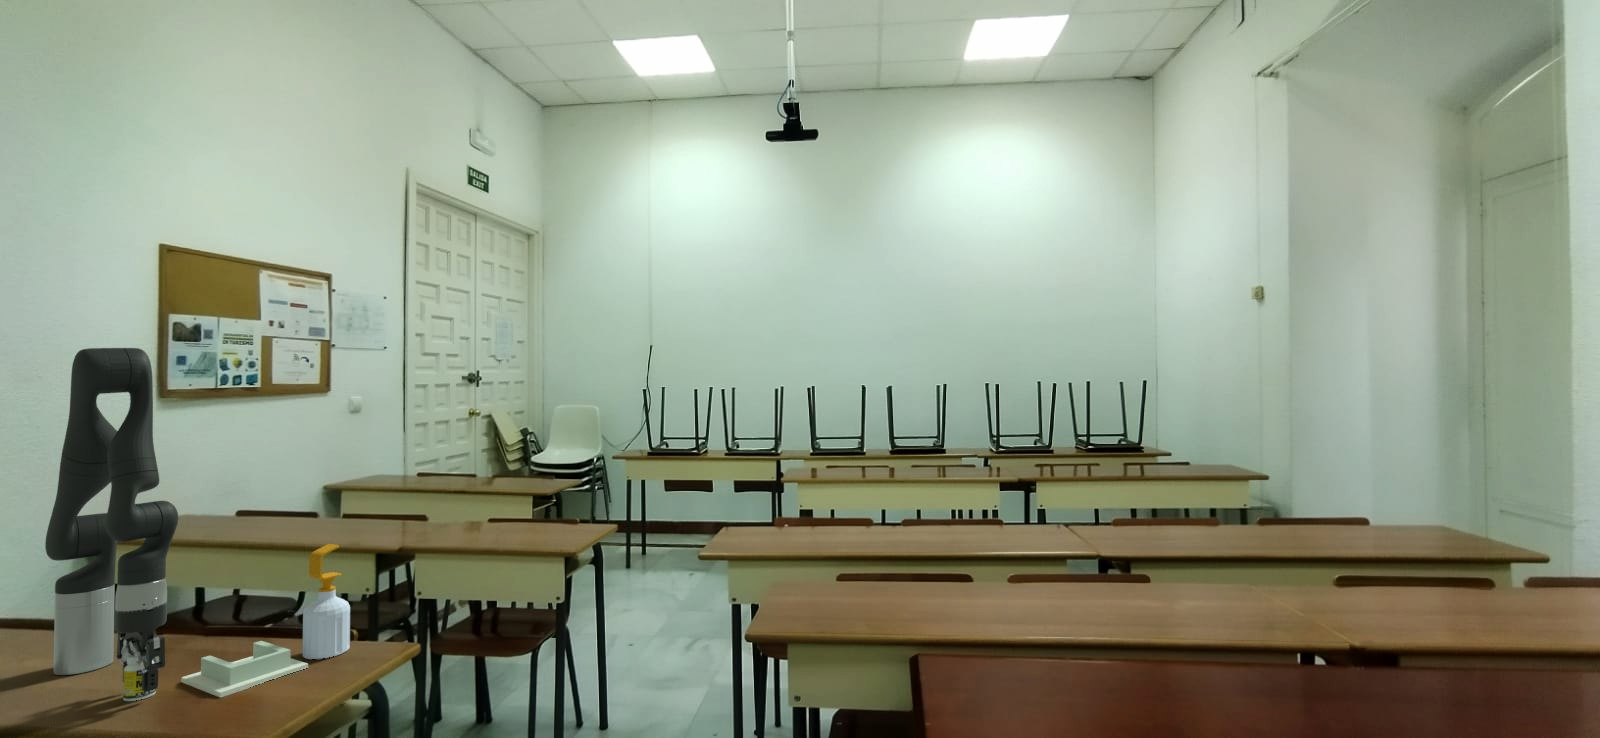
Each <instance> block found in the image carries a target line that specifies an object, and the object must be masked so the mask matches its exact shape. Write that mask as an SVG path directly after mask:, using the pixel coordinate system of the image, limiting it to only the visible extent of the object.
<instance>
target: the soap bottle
mask: <svg viewBox="0 0 1600 738" xmlns="http://www.w3.org/2000/svg"><path fill="white" fill-rule="evenodd" d="M339 548H340V546H339V544H334V543H328V544H325V545H323V546H321V547H320V548H317V549H316V550H314V551H312V552H311V553H310V555H309V558H308V559H309V562H308V563H309V564H308V569H309V571H308V574H309V577H310V578H312V579H317V580H319V582H320V583H322V587H319V588H318V598H317V599H316V600H314V601H313V602H311V603H310V604H309V605H307V606H306V607H305V608H304V610H303V614H302V657H303V658H304V659H307V660H312V659H316V660H324V659H323V658H325V659H330V658H333V656H334V657H337V656H339V655H342V654H344V653H346V652H347V651H348V650H350V648H351V647H350V645H351V605H350V604H349V601H347V600H345V599H344V598H341V597H338V596H337V594H336V591H337V589H336V588H337V587H336V586H335V585H333V584H332V582H334V581H335V578H337V577H341V576H342V573H340V572H336V571H335V572H334V571H332V572H331V571H330V572H326V573H322V571H323V567H322V566H323V558H324V557H325V556H326V555H327V554H330V553H331V552H333V551H335V550H336V549H339ZM329 657H330V658H329Z"/></svg>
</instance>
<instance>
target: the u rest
mask: <svg viewBox="0 0 1600 738" xmlns="http://www.w3.org/2000/svg"><path fill="white" fill-rule="evenodd" d="M252 645H253V650H252V651H253V652H252V654H253V655H252V656H248V657H245V658H241V659H238V660H235V661H231V662H230V661H227V660H225V659H222V658H218V657H215V656H213V655H207V656H204V657H201V658H200V671H198V672H194V673H191V674H188V675H184V676H182V677H181V681H180V682H181V683H182V682H183V683H182V684H185V685H186V686H187V685H188V686H190V687H192V688H194V689H198V690H200V691H202V692H204V693H208V694H210V695H213V696H215V697H218V698H223V697H227V696H229V695H233V694H235V693H239V692H241V691H244V690H247V689H251V688H254V687H256V686H255V685H257V686H259V685H258V684H260V685H263V684H265V683H264V682H266V681H269V680H272V679H275V680H277V679H276V678H278V677H281V676H284V675H287V674H290V673H293V672H296V671H299V670H302V671H304V670H303V669H305V670H307V669H306V668H308V669H309V663H307V662H303V661H301V660H297V659H294V658H291V655H292V653H291V652H292V650H291V649H289V648H287V647H282V646H280V645H276V644H273V643H270V642H266V641H263V640H260V641H256V642H253V644H252ZM299 672H300V671H299ZM296 673H297V672H296ZM293 674H294V673H293ZM290 675H291V674H290ZM287 676H288V675H287ZM284 677H285V676H284ZM281 678H282V677H281ZM278 679H279V678H278ZM272 681H273V680H272ZM269 682H270V681H269ZM262 683H263V684H262ZM266 683H267V682H266ZM253 686H254V687H253ZM250 687H251V688H250Z"/></svg>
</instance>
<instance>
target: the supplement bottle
mask: <svg viewBox="0 0 1600 738" xmlns="http://www.w3.org/2000/svg"><path fill="white" fill-rule="evenodd" d="M153 663H154V662H153V660H152V664H153ZM127 664H128V665H127V666H126V667H125V668H124V682H123V691H122V692H123V693H122V695H123V696H122V698H123V699H122V700H123V701H125V702H136V700H137V701H142V700H145V699H148V698H151V697H152V696H154V695H155V694H156V692H157V688H156V689H154V690H150V691H147V692H144V691H142V673H143V672H142V668H141V665H140V664H139V663H136V660H135V656H133V655H129V656H127ZM141 699H142V700H141Z"/></svg>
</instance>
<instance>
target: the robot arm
mask: <svg viewBox="0 0 1600 738" xmlns="http://www.w3.org/2000/svg"><path fill="white" fill-rule="evenodd" d="M70 374H71V375H70V377H71V378H70V397H69V398H70V399H69V411H68V412H69V413H68V420H67V426H66V432H65V435H64V436H65V437H64V441H63V445H62V450H61V456H60V463H59V473H58V481H57V491H56V495H55V500H54V504H53V508H52V511H51V516H50V518H49V523H48V526H47V531H46V534H45V541H44V542H45V543H44V546H45V551H46V554H47V556H48V558H49V559H50V560H53V561H59V562H60V561H61V562H62V561H70V560H77V559H84V558H92V559H91V561H90V562H88V563H87V564H86V565H84V566H83V567H80V568H79V569H76V570H74V571H72V572H69V573H67V574H65V575H63V576H61V577H59V578H58V579H57V580H56V581H55V584H54V622H53V624H54V625H53V626H54V627H53V628H54V632H53V633H54V634H53V635H54V636H53V667H52V668H53V671H52V672H53V675H56V676H67V675H68V676H69V675H76V674H77V675H78V674H83V673H87V672H91V671H95V670H98V669H100V668H102V669H103V668H104V667H106V666H109V665H110V664H112V663H113V662H114V653H115V652H114V648H115V647H114V645H115V632H116V633H117V642H116V643H117V648H116V658H117V660H120V661H119V662H120V664H121V665H122V682H123V683H124V668H125V667H126V666H127V665H128V664H127V656H129V655H133V656H135V660H136V663H139V664H140V665H141V668H142V672H143V673H142V691H144V692H147V691H150V690H154V689H156V690H157V688H158V687H159V669H162V668H164V667H165V666H166V649H165V648H166V640H165V639H166V637H165V636H159V637H158V635H157V632H156V630H157V628H159V627H161V626H163V625H165V624H166V622H167V620H168V619H167V618H168V617H167V615H168V613H167V612H168V611H167V610H168V609H167V608H168V607H167V606H168V586H167V579H166V573H167V571H166V569H167V567H166V566H167V556H168V553H169V550H170V547H171V544H172V541H173V539H174V536H175V533H176V529H177V527H178V523H179V512H178V509H177V508H176V507H175V505H174V504H173V503H172V502H169V501H167V500H155V501H149V502H141V503H136V498H137V496H138V494H140V493H144V492H147V491H152V490H153V489H155V488H157V487H158V486H159V485H160V474H159V469H158V464H157V463H158V462H157V457H156V452H155V446H154V436H153V435H154V433H153V432H154V429H153V428H154V398H153V397H154V396H153V395H154V392H153V387H154V385H153V384H154V383H153V370H152V364H151V359H150V357H149V355H148V353H146V352H145V350H143V349H142V348H138V347H96V348H95V347H92V348H91V347H90V348H83V349H80V350H79V351H78V352H76V354H75V356H74V358H73V362H72V365H71V373H70ZM119 393H121V394H122V393H128V394H129V400H130V401H129V402H130V403H129V409H128V411H127V412H128V413H127V414H126V416H125V418H124V420H123V422H122V423H121V425H120V426H119V428H118V430H117V429H116V428H115V427H114V426H113V425H112V424H111V423H110V422H109V421H108V420H107V419H106V417H105V416H104V414H103V413H102V412H101V411H100V409H99V407H98V405H97V399H98V396H99V395H101V394H119ZM110 484H111V487H110V496H109V502H108V508H107V512H102V513H101V512H100V513H93V514H83V515H79V513H80V512H81V511H82V509H83V508H84V507H85V505H87V503H88V502H90V500H92V499H93V498H94V497H96V496H97V495H98V494H99V493H100V492H101V491H103V490H104V489H105V488H106V487H107V486H108V485H110ZM141 539H142V540H143V539H144V541H143V542H142V544H141V545H140V547H138V548H136V549H134V550H131V551H128V552H126V553H123V554H122V555H121V556H120V557H119V559H118V560H117V561H116V558H117V547H118V542H119V543H120V542H121V543H123V542H126V543H127V542H131V541H132V542H133V541H137V540H141ZM116 562H117V579H116V576H115V575H116ZM115 580H117V586H116V585H115V584H116V581H115ZM115 586H116V587H115ZM115 588H116V591H115ZM152 660H153V662H154V663H153V664H152Z"/></svg>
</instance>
